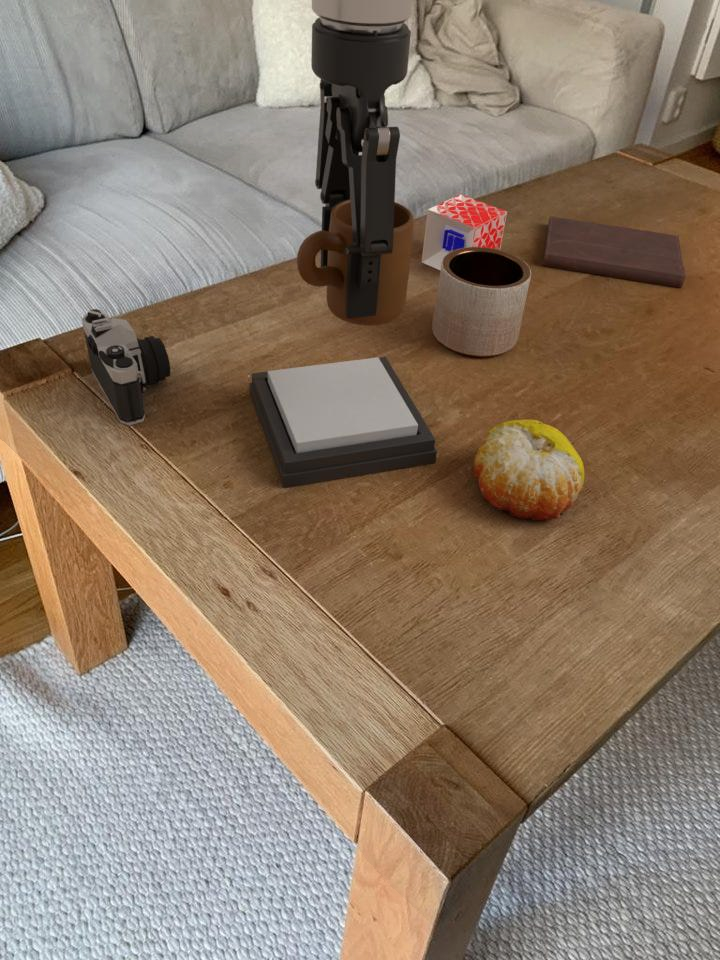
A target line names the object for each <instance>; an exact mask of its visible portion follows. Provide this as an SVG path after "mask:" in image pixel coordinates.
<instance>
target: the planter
mask: <svg viewBox="0 0 720 960" xmlns="http://www.w3.org/2000/svg"><path fill="white" fill-rule="evenodd" d="M531 277H532V270H531V268H530V266H529V265H528V263H527V262H526V261H525V260H523V259H522V258H521V257H519V256H517V255H515V254H513V253H511V252H508V251H506V250H501V249H500V250H498V249H494V248H487V247H466V248H461V249H457V250H454V251H451V252H450V253H448V254H447V255H445V256H444V258H443V259H442V263H441V270H439V277H438V278H439V279H438V285H437V291H436V297H435V303H434V305H435V306H434V309H433V316H432V322H431V323H432V324H431V331H432V334H433V336H434V338H435V339H436V340H437V341H438V342H439V343H440V344H441V345H443V346H444V347H445V348H446V349H448V350H451V351H453V352H454V353H456V354H460V355H464V356H467V357H476V358H488V357H496V356H500V355H502V354H505V353H507V352H509V351H510V350H512V349H513V348H514V347H515V346H516V345H517V342H518V340H519V337H520V333H521V327H522V322H523V319H524V318H523V316H524V312H525V305H526V302H527V296H528V292H529V287H530V283H531Z"/></svg>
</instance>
